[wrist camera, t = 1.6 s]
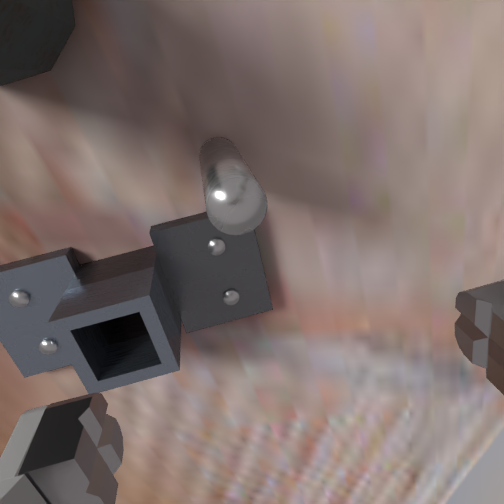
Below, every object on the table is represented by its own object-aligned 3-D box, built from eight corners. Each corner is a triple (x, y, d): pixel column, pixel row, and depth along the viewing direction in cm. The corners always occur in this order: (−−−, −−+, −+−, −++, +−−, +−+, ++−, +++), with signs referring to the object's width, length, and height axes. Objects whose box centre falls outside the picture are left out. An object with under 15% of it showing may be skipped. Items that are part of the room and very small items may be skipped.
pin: (233, 133, 29) (260, 169, 18) (242, 171, 30) (272, 226, 19) (194, 142, 29) (199, 185, 18) (205, 180, 30) (215, 241, 19)
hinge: (246, 201, 31) (264, 239, 24) (269, 300, 36) (290, 357, 28) (-29, 273, 30) (-96, 335, 23) (30, 365, 35) (-10, 442, 27)
